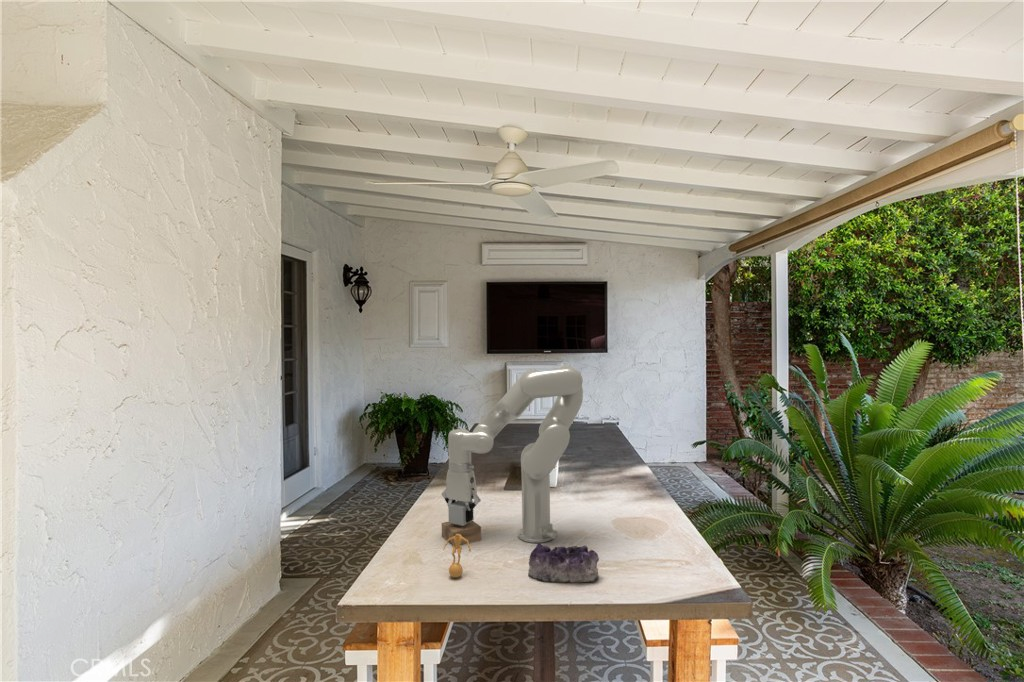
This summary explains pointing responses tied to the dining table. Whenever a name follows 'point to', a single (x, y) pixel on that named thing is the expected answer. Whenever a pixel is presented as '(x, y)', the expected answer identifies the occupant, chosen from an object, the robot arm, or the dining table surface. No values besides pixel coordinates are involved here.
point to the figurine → (456, 568)
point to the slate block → (458, 513)
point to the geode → (563, 564)
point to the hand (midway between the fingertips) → (461, 518)
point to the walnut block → (461, 532)
